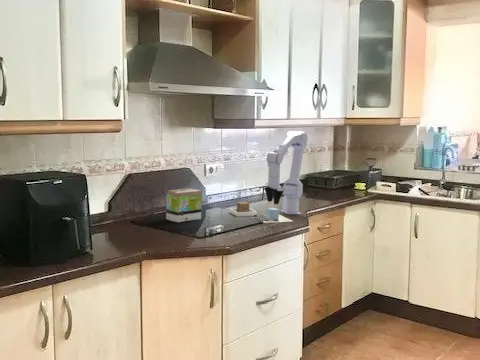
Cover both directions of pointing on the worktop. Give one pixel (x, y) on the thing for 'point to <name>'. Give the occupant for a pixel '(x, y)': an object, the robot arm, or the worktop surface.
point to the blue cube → (272, 213)
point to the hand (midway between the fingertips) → (273, 202)
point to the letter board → (281, 219)
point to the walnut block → (242, 207)
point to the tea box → (183, 205)
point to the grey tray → (250, 213)
